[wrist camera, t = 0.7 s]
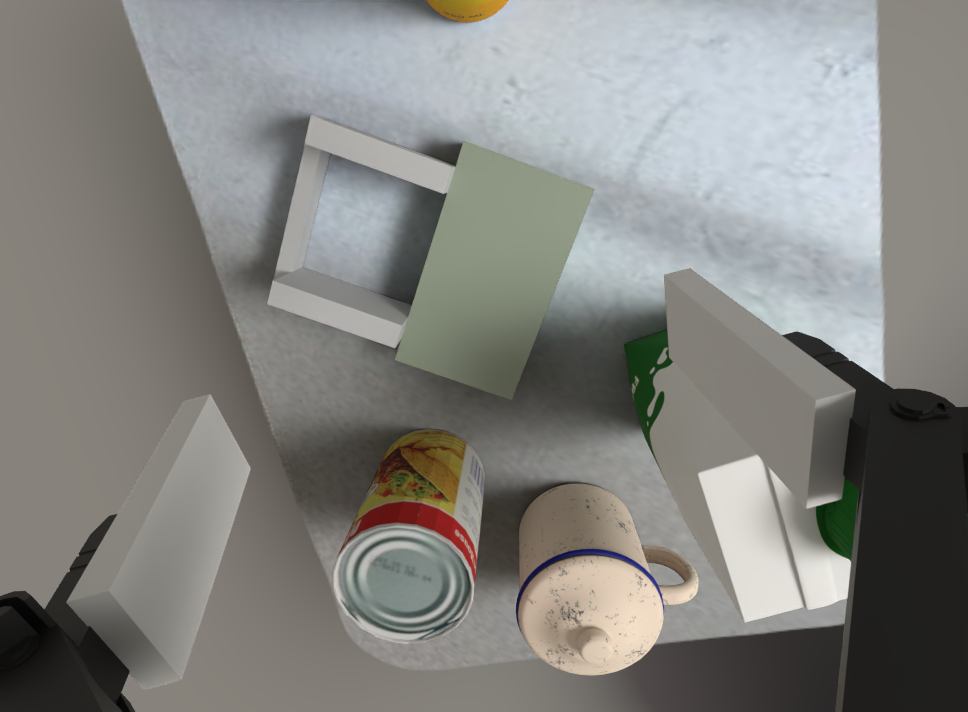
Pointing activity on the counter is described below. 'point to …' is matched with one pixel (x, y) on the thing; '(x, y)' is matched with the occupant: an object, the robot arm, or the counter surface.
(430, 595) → the canned food
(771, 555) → the milk carton
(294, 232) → the green panel with frame
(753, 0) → the counter surface
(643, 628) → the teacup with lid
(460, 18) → the beer can
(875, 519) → the robot arm
